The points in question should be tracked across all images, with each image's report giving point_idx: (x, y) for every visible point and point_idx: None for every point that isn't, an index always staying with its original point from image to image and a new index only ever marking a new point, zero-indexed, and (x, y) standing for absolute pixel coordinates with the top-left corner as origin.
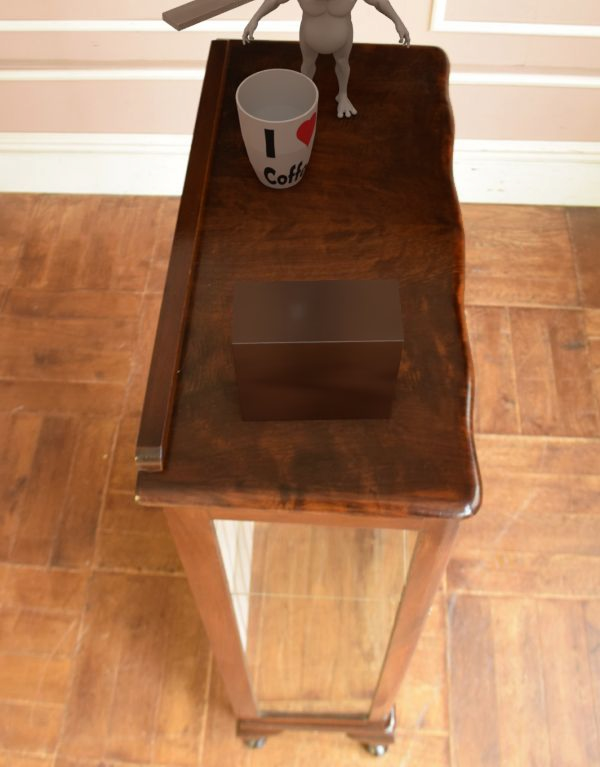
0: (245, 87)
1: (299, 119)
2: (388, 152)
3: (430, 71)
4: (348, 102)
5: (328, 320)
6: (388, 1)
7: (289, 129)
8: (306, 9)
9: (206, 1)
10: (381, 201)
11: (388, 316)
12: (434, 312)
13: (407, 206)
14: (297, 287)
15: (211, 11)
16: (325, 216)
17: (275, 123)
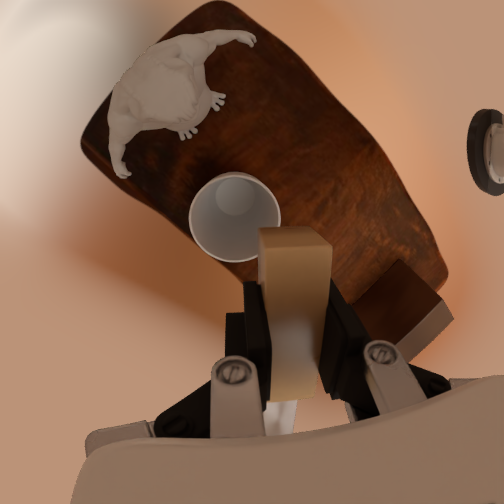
0: (195, 230)
1: (279, 226)
2: (283, 109)
3: (229, 12)
4: (212, 94)
5: (421, 341)
6: (223, 32)
7: None
8: (165, 126)
9: (274, 424)
10: (320, 157)
11: (445, 317)
12: (403, 211)
13: (338, 147)
14: (400, 344)
15: (293, 426)
16: (299, 202)
17: None
